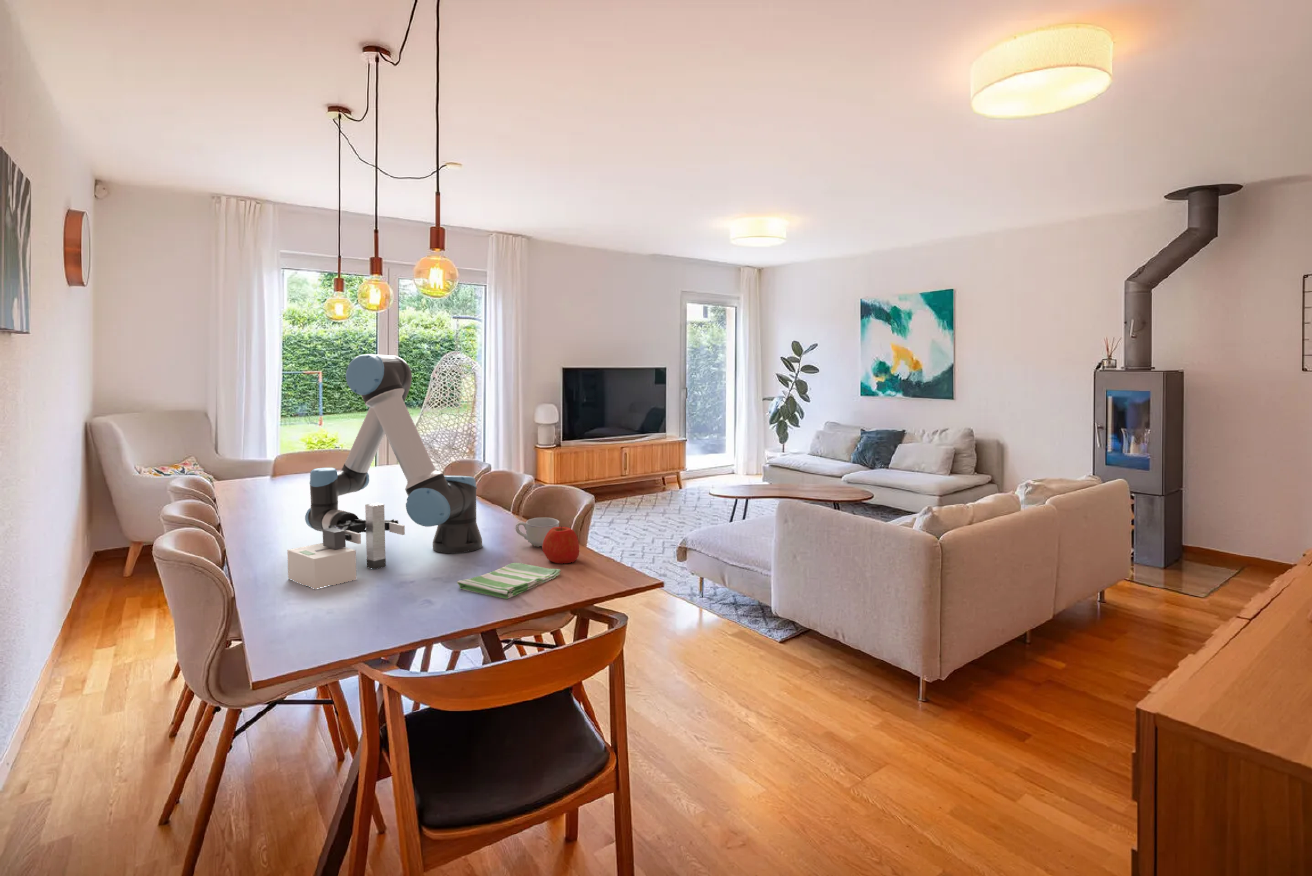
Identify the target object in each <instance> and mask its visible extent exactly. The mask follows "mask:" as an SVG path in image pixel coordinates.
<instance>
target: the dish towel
mask: <svg viewBox="0 0 1312 876" xmlns="http://www.w3.org/2000/svg"><path fill="white" fill-rule="evenodd" d="M561 571H562V570H561V569H560V568H548V567H543V566H537V565H533V564H525V563H523V562H512V563H509V564H507V565H504V566H503V567H501V568H498V569H496V570H493V571H490V572H487V573H484V574H481V575H477V576H474V577H471V578H467V579H462V580H457V581H456V584H457V585H458V587H459V589H460V590H464V591H466V592H467V591H468V592H470V593H471V592H472V593H477V594H482V595H485V596H491V597H495V598H501V599H503V600H504V599H505V600H509V599H510V598H512V597H514V596H517V595H519V594H521V593H524V592H526V591H528V590H530V589H533V588H535V586H536V585H538V586H539V585H542V584H544V583H546V582H549V581H551V579H552V580H553V579H556V578H557V577H558V576H559V575H561V573H560V572H561ZM556 576H557V577H556ZM536 587H537V586H536Z"/></svg>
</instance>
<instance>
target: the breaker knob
mask: <svg viewBox="0 0 1312 876" xmlns="http://www.w3.org/2000/svg"><path fill="white" fill-rule="evenodd" d="M322 543H323V546H326V547H329V548H332V549H339V548H344V547H346V546H347V545H346V540H345V530H341V529H337V528H334V527H333V528H327V529H323V532H322ZM346 548H347V547H346Z"/></svg>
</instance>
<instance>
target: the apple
mask: <svg viewBox="0 0 1312 876" xmlns="http://www.w3.org/2000/svg"><path fill="white" fill-rule="evenodd" d="M578 539H579V538H578V535H577V533H576V532H575V531H574V529H572V528H570V527H567V526H559V527H553V528H552V529H550V530H549V532H548V533H547V534H546V536H545V538H544V541H543V545H542V547H541V548H542V553H543V554H544V556H545V557H546V559H547V561H549V562H552V563H555V564H562V565H563V563H564V564H570V563H571V562H572V563H574V562H576V561H577V560H578V558H579V555H580V544H579V540H578Z"/></svg>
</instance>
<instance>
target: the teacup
mask: <svg viewBox="0 0 1312 876" xmlns="http://www.w3.org/2000/svg"><path fill="white" fill-rule="evenodd" d="M520 526H523V527H524V530H525V533H524V532H522V531H521V530H520V529H519V527H520ZM553 527H560V520H558V519H556V518H553V517H534V518H529V519H527V520H526V522H524V521H519V522H517V523H516V525H515V531H516V533H517V534H518V535H519V536H521V537H522V538H524V540H526V541H528V543H529V544H531V545H532V546H533V545H534V546H533V547H535V546H542V545H543V541H544V538H545V536H546V534H547V533H548V532H549V530H550V529H552V528H553Z"/></svg>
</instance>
